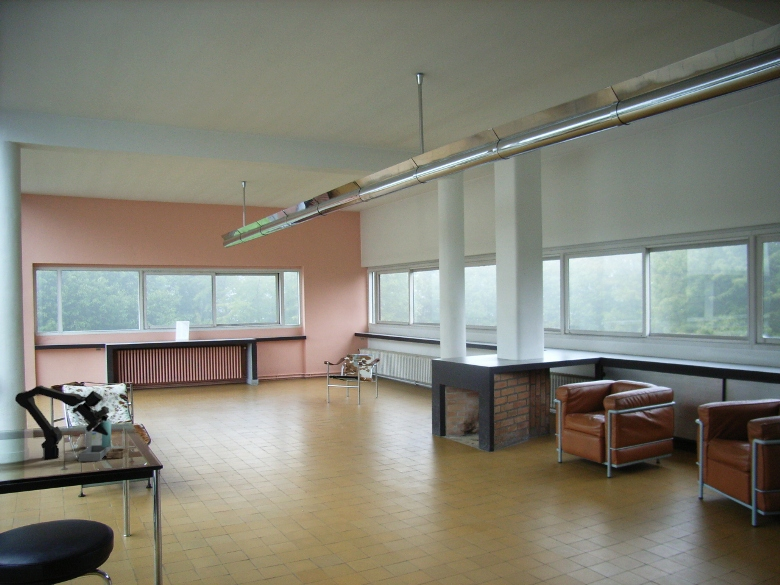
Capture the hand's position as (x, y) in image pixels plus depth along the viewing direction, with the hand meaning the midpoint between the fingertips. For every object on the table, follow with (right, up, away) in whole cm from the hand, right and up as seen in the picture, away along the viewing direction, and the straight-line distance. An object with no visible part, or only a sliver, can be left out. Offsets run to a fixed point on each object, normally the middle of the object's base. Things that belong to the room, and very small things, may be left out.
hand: (109, 433), depth 330 cm
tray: (-7, -12, -1) cm, 14 cm away
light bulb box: (-16, -12, +20) cm, 28 cm away
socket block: (+4, -12, +1) cm, 13 cm away
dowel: (-1, -7, 0) cm, 7 cm away
